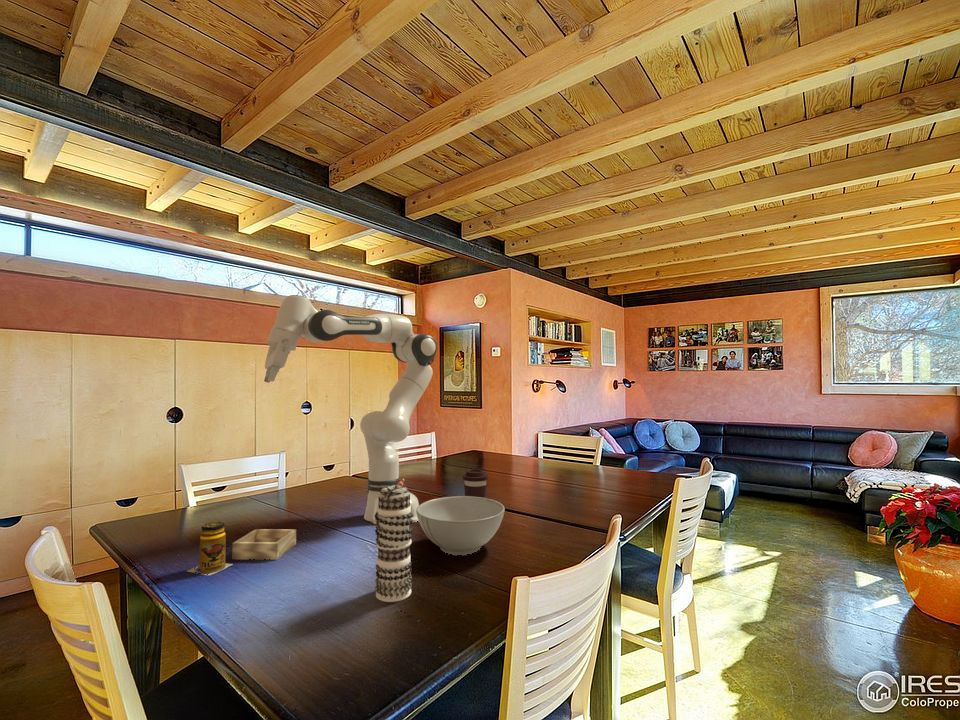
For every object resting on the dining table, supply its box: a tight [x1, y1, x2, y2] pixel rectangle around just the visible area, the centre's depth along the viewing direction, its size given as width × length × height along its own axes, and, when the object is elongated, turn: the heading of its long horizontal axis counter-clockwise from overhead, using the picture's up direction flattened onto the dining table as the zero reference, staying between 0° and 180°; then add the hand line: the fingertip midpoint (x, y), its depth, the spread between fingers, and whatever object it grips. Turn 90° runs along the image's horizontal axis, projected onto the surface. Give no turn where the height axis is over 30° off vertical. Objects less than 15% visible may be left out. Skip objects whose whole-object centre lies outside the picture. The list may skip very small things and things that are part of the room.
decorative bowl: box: [416, 495, 506, 556], centre depth 134 cm, size 27×27×12 cm
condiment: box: [186, 521, 234, 576], centre depth 120 cm, size 7×8×12 cm
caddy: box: [231, 528, 297, 561], centre depth 131 cm, size 13×12×4 cm
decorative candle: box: [374, 485, 414, 603], centre depth 106 cm, size 9×9×25 cm
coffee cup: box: [462, 468, 489, 498], centre depth 174 cm, size 10×10×15 cm
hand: (268, 381), depth 141 cm, fingers open, 8 cm apart
